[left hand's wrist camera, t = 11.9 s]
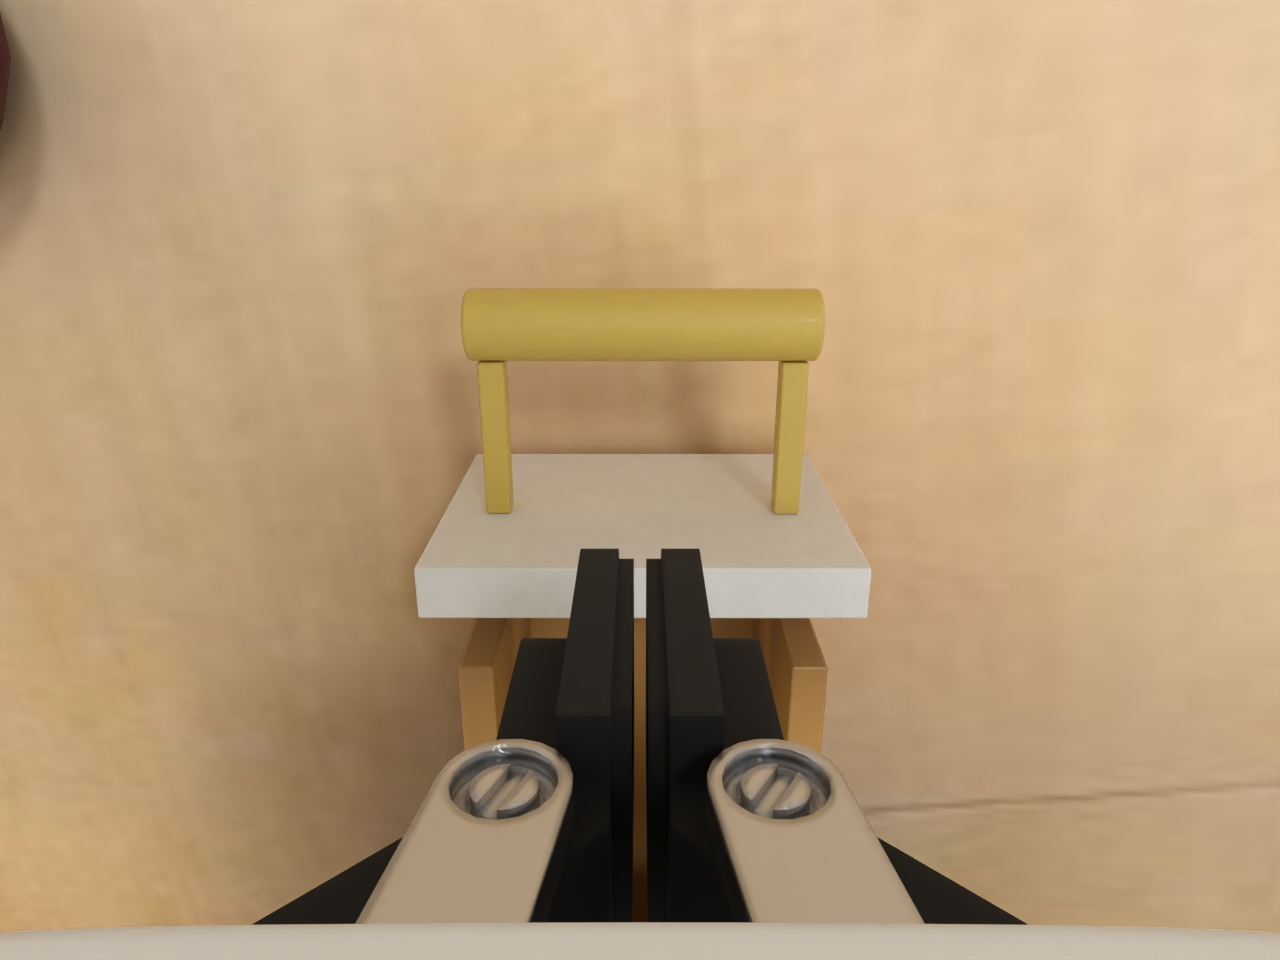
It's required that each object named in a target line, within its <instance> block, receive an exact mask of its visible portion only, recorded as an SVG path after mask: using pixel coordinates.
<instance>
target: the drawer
mask: <svg viewBox="0 0 1280 960" xmlns="http://www.w3.org/2000/svg"><path fill="white" fill-rule="evenodd" d="M824 326H825V313H824V302H823V298H822V295H821V292H820V291H819V290H817V289H468V290H466V291H465V294H464V297H463V301H462V310H461V329H462V340H463V346H464V350H465V353H466V356H467V358H468V359H469V360H472V361H479V362H478V364H477V371H478V386H479V402H480V418H481V434H482V449H483V454H476V456H475V458H474V460H473V462H472V463H471V465H470V467H469V469H468V471H467V473H466V474H465V476H464V478H463V480H462V482H461V484H460V485H459V487H458V489H457V491H456V493H455V495H454V496H453V498H452V500H451V502H450V504H449V506H448V507H447V509H446V511H445V513H444V515H443V517H442V518H441V520H440V522H439V524H438V526H437V528H436V529H435V531H434V533H433V535H432V537H431V539H430V540H429V542H428V544H427V546H426V548H425V550H424V551H423V553H422V555H421V557H420V559H419V561H418V563H417V564H416V566H415V568H414V576H415V587H416V597H417V608H418V616H419V617H420V618H475V621H474V624H473V626H472V629H471V632H470V635H469V638H468V641H467V643H466V646H465V649H464V652H463V655H462V657H461V660H460V663H459V666H458V678H459V690H460V703H461V715H462V727H463V740H464V750H466V749H469V748H471V747H474V746H476V745H479V744H481V743H485V742H490V741H495V740H496V738H497V734H498V730H499V726H500V722H501V718H502V714H503V710H504V706H505V702H506V697H507V693H508V689H509V685H510V681H511V677H512V673H513V669H514V665H515V661H516V657H517V653H518V649H519V645H520V642H521V639H523V638H567V634H568V628H569V621H570V614H571V608H572V601H573V594H574V588H575V581H576V575H577V568H578V561H579V555H580V549H619V559H634V824H633V922H647V824H646V559H661V549H700V555H701V561H702V568H703V575H704V581H705V588H706V594H707V601H708V608H709V614H710V621H711V628H712V634H713V638H757V639H759V642H760V645H761V649H762V653H763V657H764V661H765V665H766V669H767V673H768V677H769V681H770V685H771V689H772V693H773V697H774V702H775V706H776V710H777V714H778V718H779V722H780V726H781V730H782V734H783V738H784V740H785V741H790V742H795V743H799V744H801V745H804V746H806V747H809V748H811V749H814V750H816V751H818V752H819V753H821V741H822V729H823V718H824V706H825V694H826V683H827V671H828V668H827V665H826V662H825V659H824V657H823V654H822V651H821V648H820V646H819V643H818V640H817V637H816V635H815V632H814V629H813V626H812V624H811V621H810V618H866V617H867V613H868V603H869V593H870V583H871V573H872V569H871V567H870V565H869V564H868V562H867V560H866V558H865V556H864V555H863V553H862V551H861V549H860V547H859V546H858V544H857V542H856V540H855V539H854V537H853V535H852V533H851V531H850V530H849V528H848V526H847V524H846V522H845V521H844V519H843V517H842V515H841V513H840V512H839V510H838V508H837V506H836V505H835V503H834V501H833V499H832V497H831V496H830V494H829V492H828V490H827V488H826V487H825V485H824V483H823V481H822V479H821V478H820V476H819V474H818V472H817V471H816V469H815V467H814V465H813V463H812V462H811V460H810V458H809V456H808V455H807V454H803V440H804V426H805V411H806V396H807V381H808V367H809V365H808V363H807V361H815V360H817V359H818V357H819V355H820V353H821V349H822V345H823V338H824ZM507 361H779V367H778V385H777V403H776V420H775V438H774V454H511V439H510V419H509V400H508V381H507Z"/></svg>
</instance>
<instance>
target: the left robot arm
mask: <svg viewBox="0 0 1280 960" xmlns="http://www.w3.org/2000/svg"><path fill="white" fill-rule="evenodd" d="M633 824H634V559H619V549H580V555H579V561H578V568H577V575H576V581H575V588H574V594H573V601H572V608H571V614H570V621H569V628H568V634H567V638H523V639H521V642H520V645H519V649H518V653H517V657H516V661H515V665H514V669H513V673H512V677H511V681H510V685H509V689H508V693H507V697H506V702H505V706H504V710H503V714H502V718H501V722H500V726H499V730H498V734H497V738H496V740H495V741H490V742H485V743H481V744H479V745H476V746H474V747H471V748H469V749H466V750H464V751H462V752H461V753H460V754H458V755H457V756H455V757H454V758H453V759H451V760H450V761H448V763H447V764H446V765H445V766H444V767H443V769H442V770H441V771H440V772H439V774H438V775H437V777H436V779H435V780H434V782H433V784H432V786H431V788H430V790H429V791H428V793H427V795H426V797H425V799H424V800H423V802H422V804H421V806H420V808H419V809H418V811H417V813H416V815H415V817H414V818H413V820H412V822H411V824H410V826H409V827H408V829H407V831H406V833H405V835H404V836H403V837H402V838H401V839H399V840H397V841H395V842H394V843H392V844H390V845H389V846H387V847H385V848H383V849H382V850H380V851H378V852H376V853H375V854H373V855H371V856H370V857H368V858H366V859H364V860H363V861H361V862H359V863H357V864H356V865H354V866H352V867H351V868H349V869H347V870H345V871H344V872H342V873H340V874H338V875H337V876H335V877H333V878H332V879H330V880H328V881H326V882H325V883H323V884H321V885H319V886H318V887H316V888H314V889H313V890H311V891H309V892H307V893H306V894H304V895H302V896H300V897H299V898H297V899H295V900H294V901H292V902H290V903H288V904H287V905H285V906H283V907H282V908H280V909H278V910H276V911H275V912H273V913H271V914H269V915H268V916H266V917H264V918H263V919H261V920H259V921H257V922H256V923H254V924H252V925H163V926H126V927H100V928H73V929H47V930H22V931H12V932H2V933H0V960H1280V933H1278V932H1268V931H1258V930H1234V929H1207V928H1181V927H1154V926H1117V925H1028V924H1026V923H1024V922H1023V921H1021V920H1019V919H1017V918H1016V917H1014V916H1012V915H1011V914H1009V913H1007V912H1005V911H1004V910H1002V909H1000V908H998V907H997V906H995V905H993V904H992V903H990V902H988V901H986V900H985V899H983V898H981V897H980V896H978V895H976V894H974V893H973V892H971V891H969V890H967V889H966V888H964V887H962V886H961V885H959V884H957V883H955V882H954V881H952V880H950V879H948V878H947V877H945V876H943V875H942V874H940V873H938V872H936V871H935V870H933V869H931V868H929V867H928V866H926V865H924V864H923V863H921V862H919V861H917V860H916V859H914V858H912V857H910V856H909V855H907V854H905V853H904V852H902V851H900V850H898V849H897V848H895V847H893V846H891V845H890V844H888V843H886V842H885V841H883V840H881V839H879V838H878V837H877V836H876V835H875V833H874V831H873V829H872V827H871V826H870V824H869V822H868V820H867V818H866V817H865V815H864V813H863V811H862V809H861V808H860V806H859V804H858V802H857V800H856V799H855V797H854V795H853V793H852V791H851V790H850V788H849V786H848V784H847V782H846V781H845V779H844V777H843V775H842V774H841V772H840V771H839V770H838V769H837V767H836V766H835V765H834V764H833V763H832V761H830V760H829V759H827V758H826V757H825V756H823V755H822V754H820V753H819V752H818V751H816V750H814V749H811V748H809V747H806V746H804V745H801V744H799V743H795V742H790V741H785V740H784V738H783V734H782V730H781V726H780V722H779V718H778V714H777V710H776V706H775V702H774V697H773V693H772V689H771V685H770V681H769V677H768V673H767V669H766V665H765V661H764V657H763V653H762V649H761V645H760V642H759V639H757V638H713V634H712V628H711V621H710V614H709V608H708V601H707V594H706V588H705V581H704V575H703V568H702V561H701V555H700V549H661V559H646V824H647V922H633Z"/></svg>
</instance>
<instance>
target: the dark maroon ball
mask: <svg viewBox="0 0 1280 960" xmlns="http://www.w3.org/2000/svg"><path fill="white" fill-rule="evenodd" d="M10 58H11V57H10V53H9V49H8V44H7V40H6V36H5V32H4V28H3V24H2V19H1V15H0V130H1V128H2V123H3V117H4V111H5V102H6V93H7V84H8V76H9V67H10Z"/></svg>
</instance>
